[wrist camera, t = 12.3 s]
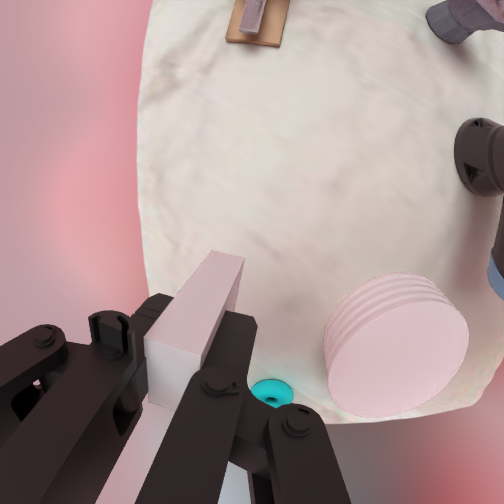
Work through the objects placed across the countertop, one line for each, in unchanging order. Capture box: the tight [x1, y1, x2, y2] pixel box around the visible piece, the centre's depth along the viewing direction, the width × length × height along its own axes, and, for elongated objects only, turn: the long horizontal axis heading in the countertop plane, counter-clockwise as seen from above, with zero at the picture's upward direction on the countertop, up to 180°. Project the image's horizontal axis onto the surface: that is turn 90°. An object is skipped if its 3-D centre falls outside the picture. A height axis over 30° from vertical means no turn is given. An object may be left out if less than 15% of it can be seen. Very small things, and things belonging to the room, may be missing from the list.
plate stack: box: [324, 272, 469, 417], centre depth 46 cm, size 28×28×12 cm
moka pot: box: [426, 0, 504, 44], centre depth 19 cm, size 10×15×20 cm, turn 42°
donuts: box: [251, 380, 293, 408], centre depth 55 cm, size 10×10×10 cm
